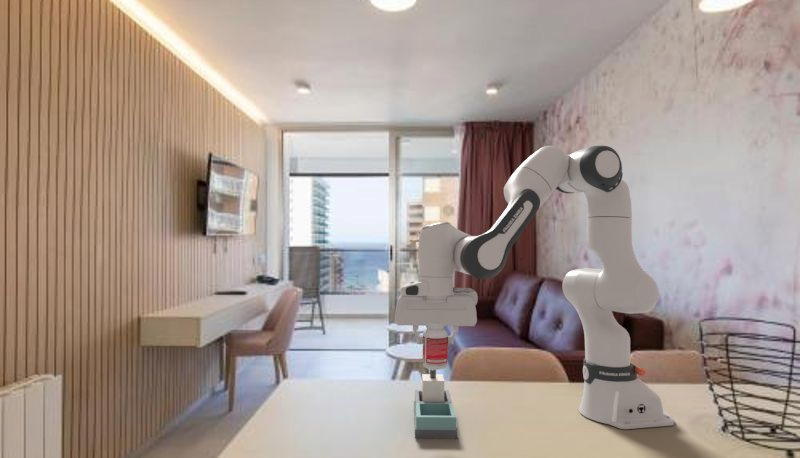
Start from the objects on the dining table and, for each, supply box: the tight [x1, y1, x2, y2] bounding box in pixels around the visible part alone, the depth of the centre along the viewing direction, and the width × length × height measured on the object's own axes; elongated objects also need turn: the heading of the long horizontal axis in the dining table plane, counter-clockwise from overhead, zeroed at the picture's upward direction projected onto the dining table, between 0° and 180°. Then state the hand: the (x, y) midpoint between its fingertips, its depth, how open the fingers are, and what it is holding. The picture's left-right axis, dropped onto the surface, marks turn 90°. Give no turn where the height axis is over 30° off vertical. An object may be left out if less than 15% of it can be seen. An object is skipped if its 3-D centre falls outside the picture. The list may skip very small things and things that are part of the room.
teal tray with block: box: [413, 369, 458, 439], centre depth 114 cm, size 10×18×12 cm, turn 179°
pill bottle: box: [422, 323, 449, 371], centre depth 110 cm, size 6×6×11 cm
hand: (435, 343), depth 110 cm, fingers closed on pill bottle, 6 cm apart
